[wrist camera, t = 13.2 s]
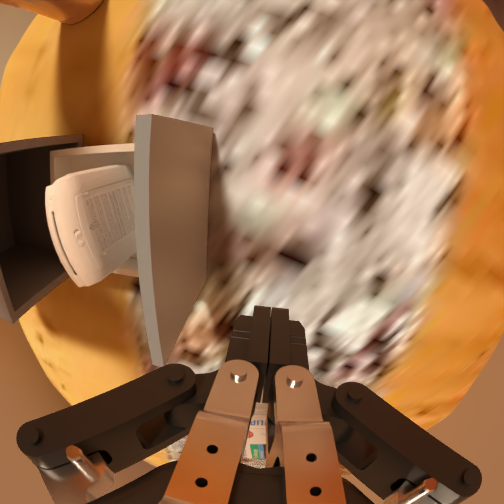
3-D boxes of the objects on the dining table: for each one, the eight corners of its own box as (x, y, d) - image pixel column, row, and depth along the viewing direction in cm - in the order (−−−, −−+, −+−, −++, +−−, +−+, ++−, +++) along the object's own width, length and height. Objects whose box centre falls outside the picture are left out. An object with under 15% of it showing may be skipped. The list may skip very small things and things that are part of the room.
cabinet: (7, 148, 30) (-69, 168, 14) (83, 134, 29) (-20, 146, 13) (17, 247, 36) (-47, 288, 21) (90, 260, 35) (13, 323, 20)
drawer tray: (73, 135, 28) (-18, 147, 14) (213, 128, 27) (151, 114, 13) (81, 260, 35) (12, 315, 21) (206, 279, 34) (163, 367, 20)
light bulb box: (283, 410, 44) (282, 460, 34) (246, 410, 44) (239, 459, 34) (284, 372, 40) (283, 428, 30) (240, 372, 40) (231, 427, 30)
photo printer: (103, 169, 28) (27, 189, 17) (131, 158, 27) (57, 172, 16) (126, 249, 32) (66, 300, 20) (155, 243, 31) (98, 296, 19)
